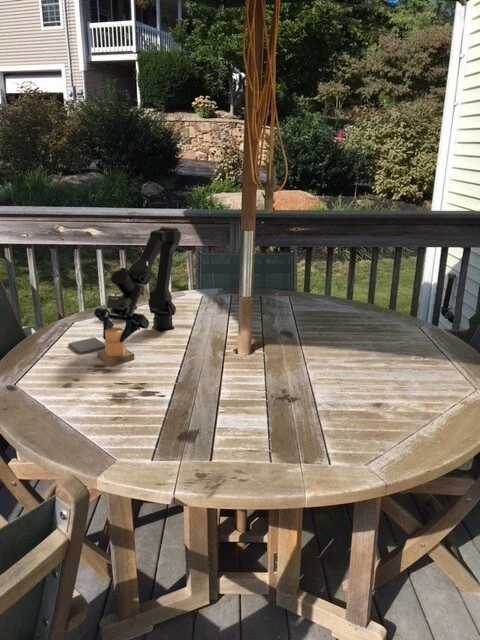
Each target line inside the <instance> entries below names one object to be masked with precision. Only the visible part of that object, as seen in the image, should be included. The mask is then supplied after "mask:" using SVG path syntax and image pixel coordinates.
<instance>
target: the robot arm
mask: <svg viewBox="0 0 480 640" xmlns="http://www.w3.org/2000/svg"><path fill="white" fill-rule="evenodd" d="M181 237H182V234H181V231H180V230H179V228H177V227H170V226H169V227H168V226H167V227H166V226H161V227H160V229H154V230H150V234H149V238H148V240H147V242H146V243H145V246H144V248H143V250H142V252H141V255H140V257H139V258H138V260H137V261H135V262H134V263H132V264H131V266H130V267H129V268H126V267H121V268H120V269H119V270H117V271H115V272H114V273H113V274H111V278H110V279H111V283H112V284H113V286H114V287H116V289H117V290H118V292H122V296H121V298H117V299H111V298H108V299H107V304H106V308H103V307H97V308H95V309H94V312H93V315H94V316H95V317H96V318H97V319H98V321H99V322H102V325H103V329H102V339H103V340H104V341H105V340H106V339H105V330H106V329H108V328H113V327H114V326H115V324H114V323H113V320H116V321H122V322H125V326H124V329H123V330H124V331H123V333H122V336H121V338H120V342H121V343H122V342H123V341H124V340H125V341H126V340H127V339H128V338H129V337H130V336H131V335H132V334H134V333H135V332H136V331H140V329H145V330H147V329H148V328H149V326H150V321H149V319H148V318H147V317H146V316H145V314H144V313H143V314H142V313H136V312H135V311H136V310H137V309H138V307H137V304H138V301H139V298H140V296H144V293H145V292H144V290H143V287H140V285H141V286H146V285H148V284H149V283H150V281H151V277H152V275H153V272H152V266H153V264H154V262H155V260H156V258H157V255H158V253H159V252H160V253H159V259H158V260H159V262H158V268H157V277H156V284H155V288H154V289H153V290H152V291H150V292H149V299H148V307H149V312H150V314H154V315H153V317H152V318H153V319H152V320H153V321H152V322H153V324H152V327H151V328H153V329H155V330H157V331H158V332H165V331H169V330H173V329H175V326H173V316H175V315H176V312H177V307H176V306H175V304H174V302H173V296H172V294H171V291H170V290H169V289H170V282H171V275H172V266H173V259H174V258H173V257H174V252H175V251H176V249H177V248H178V247H179V244H180V240H181ZM108 308H109V309H110V308H112V309H111V310H112V311H113V312H115V313H114V314H113V313H110V310H109V309H108ZM134 310H135V311H134ZM133 311H134V314H133Z"/></svg>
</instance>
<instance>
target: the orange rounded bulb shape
mask: <svg viewBox="0 0 480 640" xmlns="http://www.w3.org/2000/svg"><path fill="white" fill-rule="evenodd" d="M123 331H124V329H123V328H122V327H117V326H115V327H114V326H113V328H108V329H106V330H105V339H106V340H104V344H105V349H104V350H105V352H106V354H107V355H108V356H120V355H123V354H124V353H125V349H126V340H124V341H123V342H122V343H121V342H120V338H121V336H122V333H123Z"/></svg>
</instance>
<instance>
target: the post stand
mask: <svg viewBox="0 0 480 640" xmlns="http://www.w3.org/2000/svg"><path fill="white" fill-rule="evenodd" d="M96 355H97V358H98V359H99V360H101V361H102V362H103V363H105V364H107V365H108V366H114V365H118V364H122V363H125V362H129V361H134V360H135V353H134V352H132V351H130V350H129V349H127V348H125V353H124V354H123V355H120V356H108V355H107V354H106V352H105V349H102V350H98V351H96Z"/></svg>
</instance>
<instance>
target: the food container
mask: <svg viewBox="0 0 480 640" xmlns="http://www.w3.org/2000/svg"><path fill="white" fill-rule="evenodd" d="M121 296H122V292H120V291H115V292H114V291H113V292H110V293H107V296H106V300H108V298H111V299H117V298H121ZM111 309H112V308H109V312H110V313H113V314H114V313H115V312H113V311H112V310H111ZM135 312H136V310H134V311H133V314H134V313H135Z"/></svg>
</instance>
